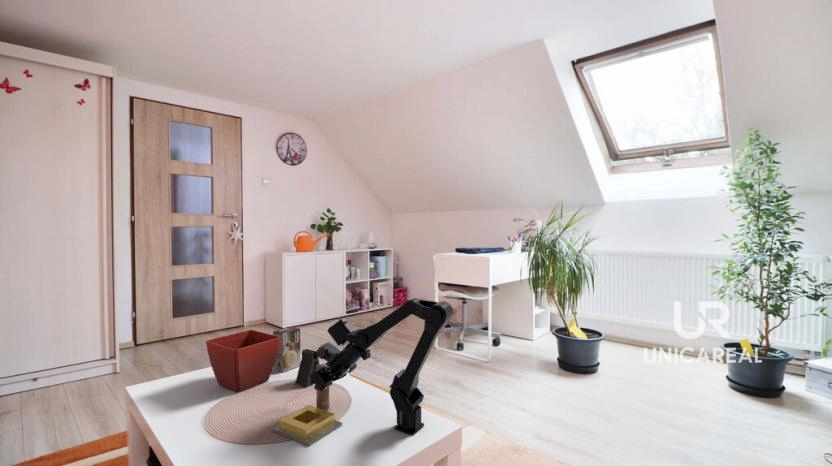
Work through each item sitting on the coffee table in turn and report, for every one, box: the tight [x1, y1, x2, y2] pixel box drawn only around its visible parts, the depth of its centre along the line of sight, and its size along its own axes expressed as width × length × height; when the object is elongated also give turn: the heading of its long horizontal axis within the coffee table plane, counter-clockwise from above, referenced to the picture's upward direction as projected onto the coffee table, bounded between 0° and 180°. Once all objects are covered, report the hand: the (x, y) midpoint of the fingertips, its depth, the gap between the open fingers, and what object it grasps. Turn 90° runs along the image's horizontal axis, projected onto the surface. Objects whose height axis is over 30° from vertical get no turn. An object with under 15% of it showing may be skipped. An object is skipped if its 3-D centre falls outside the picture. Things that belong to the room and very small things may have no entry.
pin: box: [315, 362, 330, 411], centre depth 124 cm, size 4×4×14 cm
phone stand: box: [294, 348, 321, 388], centre depth 145 cm, size 9×6×12 cm, turn 147°
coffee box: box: [272, 326, 302, 373], centre depth 160 cm, size 9×6×16 cm
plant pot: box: [205, 329, 280, 393], centre depth 144 cm, size 19×19×17 cm
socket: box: [271, 404, 343, 447], centre depth 112 cm, size 15×13×3 cm
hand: (319, 386), depth 124 cm, fingers closed on pin, 4 cm apart
